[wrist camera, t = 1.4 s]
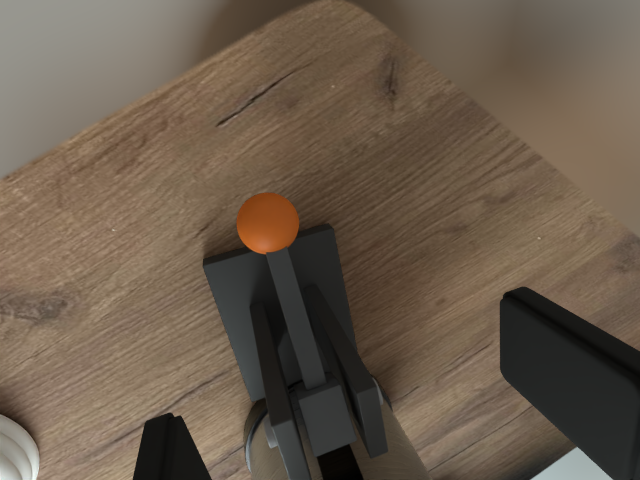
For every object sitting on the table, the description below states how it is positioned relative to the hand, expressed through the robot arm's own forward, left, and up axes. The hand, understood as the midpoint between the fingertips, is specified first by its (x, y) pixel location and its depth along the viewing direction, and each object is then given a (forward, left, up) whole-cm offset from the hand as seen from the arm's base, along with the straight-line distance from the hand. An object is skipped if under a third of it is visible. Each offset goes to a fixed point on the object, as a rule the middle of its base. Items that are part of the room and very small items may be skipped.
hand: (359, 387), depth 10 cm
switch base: (+7, +3, -16) cm, 18 cm away
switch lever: (+3, +1, -10) cm, 11 cm away
